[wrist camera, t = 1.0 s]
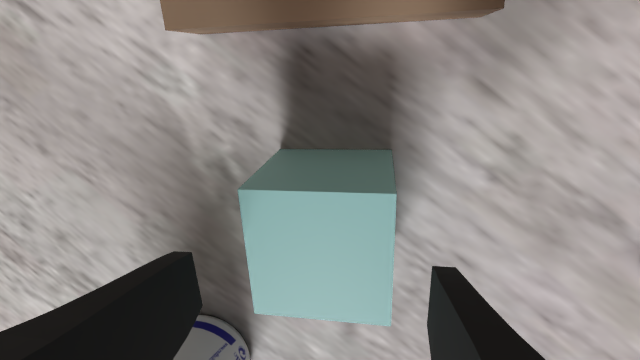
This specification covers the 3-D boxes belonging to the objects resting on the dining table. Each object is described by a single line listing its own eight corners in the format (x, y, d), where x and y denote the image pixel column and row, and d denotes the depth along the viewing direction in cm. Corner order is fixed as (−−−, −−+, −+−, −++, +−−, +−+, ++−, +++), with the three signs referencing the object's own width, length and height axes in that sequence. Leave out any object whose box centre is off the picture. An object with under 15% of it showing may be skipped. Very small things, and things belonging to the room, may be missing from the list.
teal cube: (391, 149, 14) (396, 193, 10) (387, 248, 16) (390, 326, 12) (280, 148, 15) (237, 189, 11) (288, 243, 17) (254, 313, 12)
